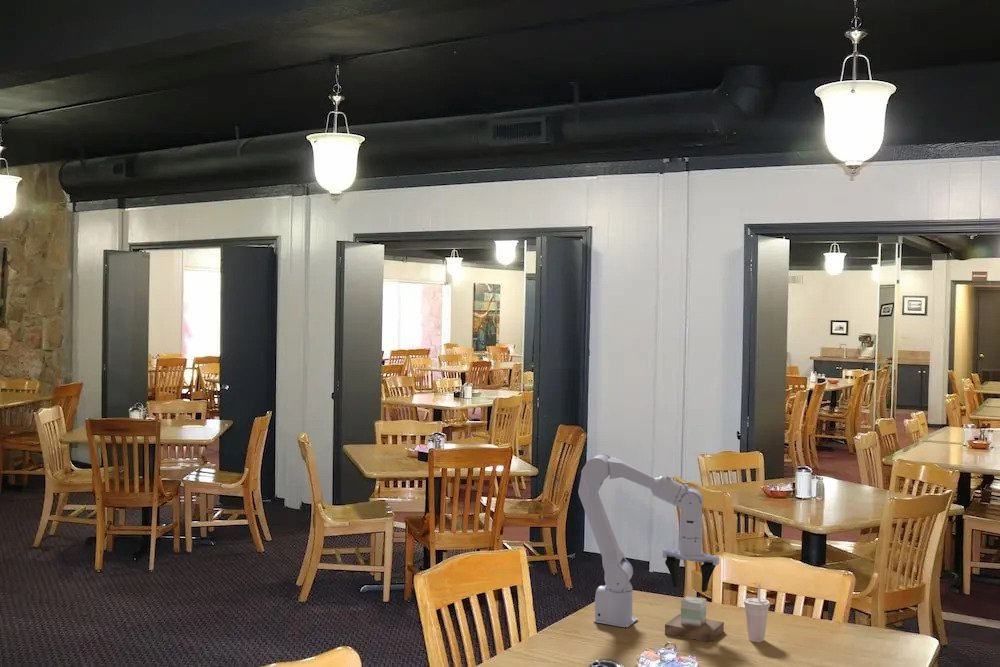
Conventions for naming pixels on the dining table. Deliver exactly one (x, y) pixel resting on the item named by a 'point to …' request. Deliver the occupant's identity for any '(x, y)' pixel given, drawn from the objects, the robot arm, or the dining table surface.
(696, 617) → the steel tin
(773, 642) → the dining table surface
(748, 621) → the smoothie
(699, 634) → the walnut block
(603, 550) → the robot arm
